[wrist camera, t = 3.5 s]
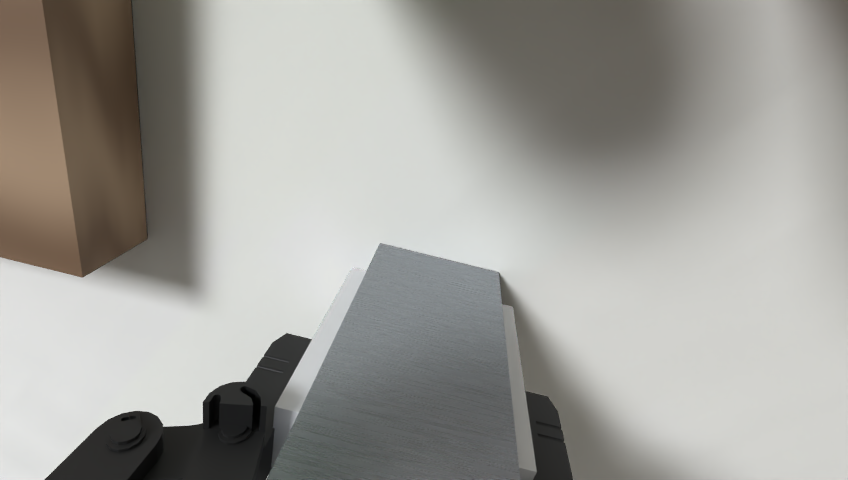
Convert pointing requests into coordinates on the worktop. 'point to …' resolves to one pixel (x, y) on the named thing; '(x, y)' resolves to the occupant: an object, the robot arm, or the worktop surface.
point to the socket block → (69, 134)
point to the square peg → (411, 381)
